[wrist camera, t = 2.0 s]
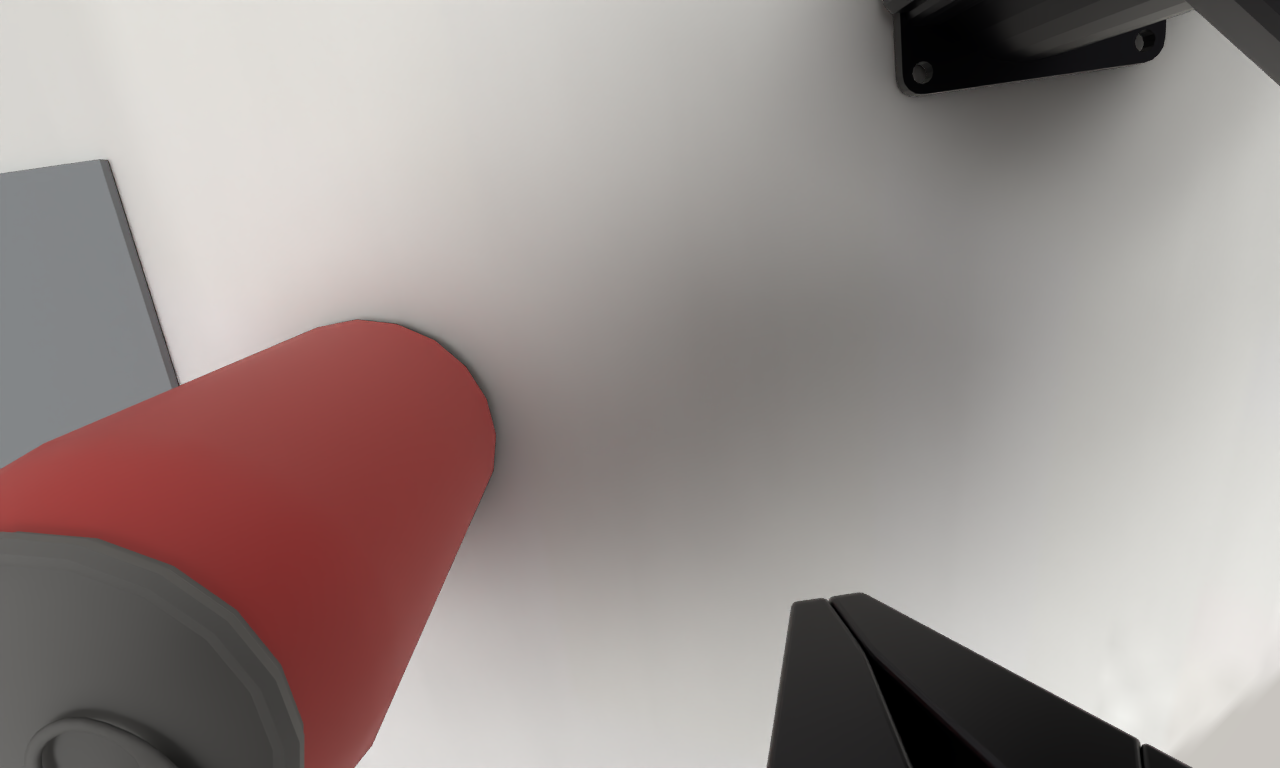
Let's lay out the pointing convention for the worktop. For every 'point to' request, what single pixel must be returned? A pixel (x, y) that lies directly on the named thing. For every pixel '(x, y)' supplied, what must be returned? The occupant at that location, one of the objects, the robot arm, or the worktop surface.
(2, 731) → the beer can
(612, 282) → the worktop surface
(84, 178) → the mat
